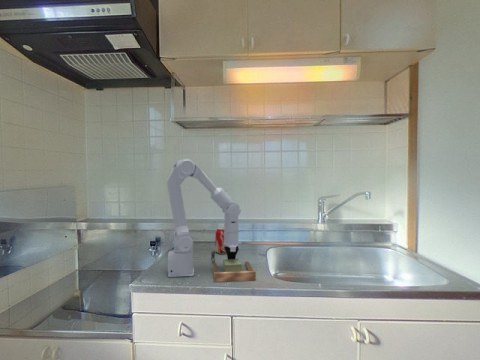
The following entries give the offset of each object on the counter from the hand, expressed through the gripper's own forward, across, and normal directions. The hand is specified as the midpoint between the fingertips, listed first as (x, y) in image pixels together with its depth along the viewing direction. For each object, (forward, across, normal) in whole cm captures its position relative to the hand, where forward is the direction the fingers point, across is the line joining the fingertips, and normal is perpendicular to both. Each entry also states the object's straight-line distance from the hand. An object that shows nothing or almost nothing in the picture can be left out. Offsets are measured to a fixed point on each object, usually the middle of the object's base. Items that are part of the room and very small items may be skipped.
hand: (231, 264), depth 127 cm
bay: (+1, -5, 0) cm, 5 cm away
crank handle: (+1, +11, +7) cm, 13 cm away
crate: (+1, -5, 0) cm, 5 cm away
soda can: (+2, +23, +2) cm, 23 cm away
